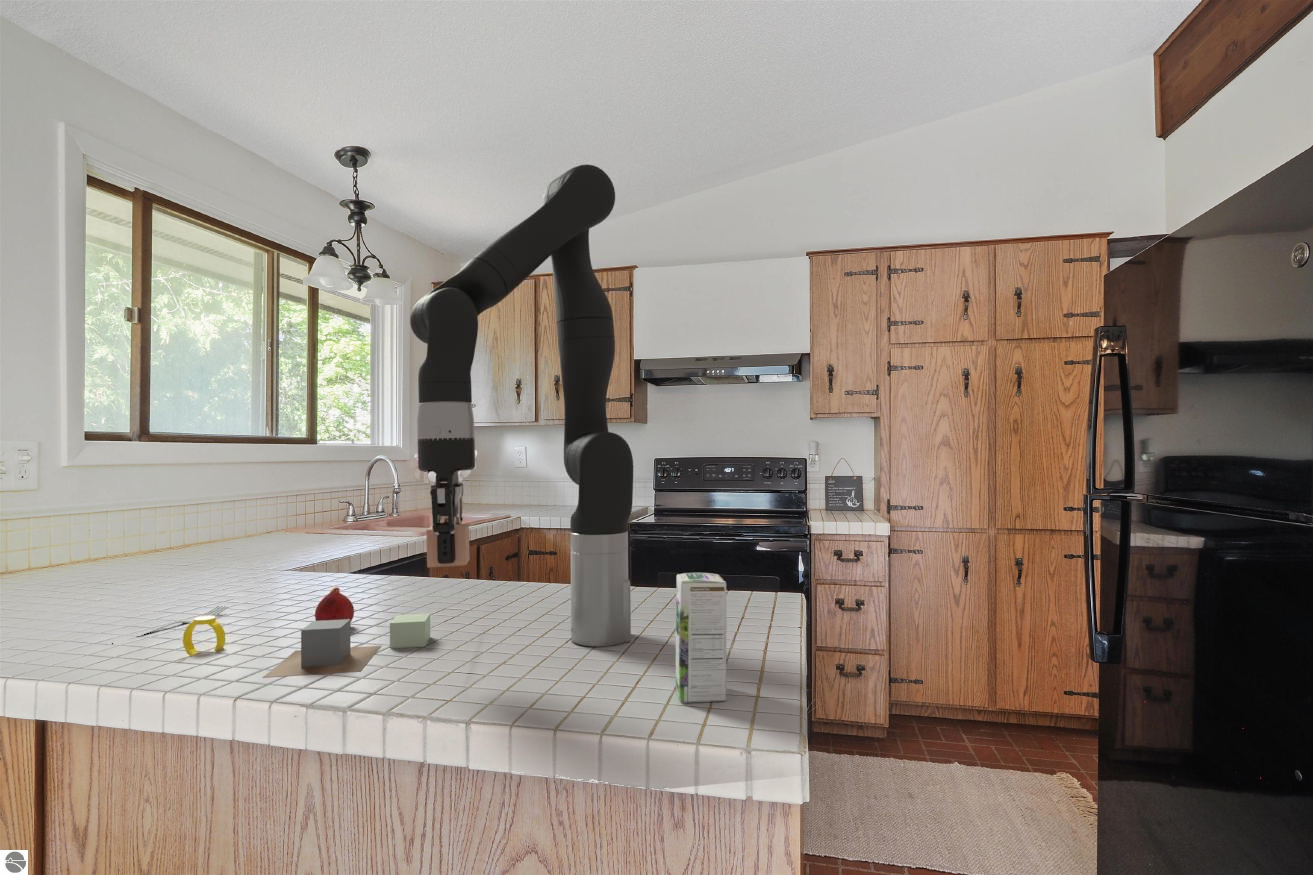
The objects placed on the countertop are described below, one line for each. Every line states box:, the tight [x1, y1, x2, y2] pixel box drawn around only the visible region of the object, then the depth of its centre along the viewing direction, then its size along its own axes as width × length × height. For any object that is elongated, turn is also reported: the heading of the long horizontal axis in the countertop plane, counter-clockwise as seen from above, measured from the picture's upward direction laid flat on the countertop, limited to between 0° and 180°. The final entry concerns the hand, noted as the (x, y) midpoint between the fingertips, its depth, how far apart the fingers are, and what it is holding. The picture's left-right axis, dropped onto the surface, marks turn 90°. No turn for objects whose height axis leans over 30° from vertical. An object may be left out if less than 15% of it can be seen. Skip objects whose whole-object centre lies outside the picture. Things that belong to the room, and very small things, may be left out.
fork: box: [134, 605, 229, 636], centre depth 116 cm, size 3×24×2 cm, turn 166°
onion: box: [314, 586, 355, 624], centre depth 111 cm, size 6×6×8 cm
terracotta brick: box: [425, 523, 471, 568], centre depth 92 cm, size 5×5×5 cm
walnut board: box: [262, 645, 382, 679], centre depth 94 cm, size 12×12×1 cm
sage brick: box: [389, 613, 431, 649], centre depth 102 cm, size 5×5×5 cm
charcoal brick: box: [300, 619, 351, 667], centre depth 94 cm, size 5×5×5 cm
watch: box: [182, 615, 226, 657], centre depth 100 cm, size 6×3×6 cm, turn 82°
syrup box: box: [675, 572, 727, 704], centre depth 83 cm, size 6×6×14 cm
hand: (449, 559), depth 92 cm, fingers closed on terracotta brick, 5 cm apart
